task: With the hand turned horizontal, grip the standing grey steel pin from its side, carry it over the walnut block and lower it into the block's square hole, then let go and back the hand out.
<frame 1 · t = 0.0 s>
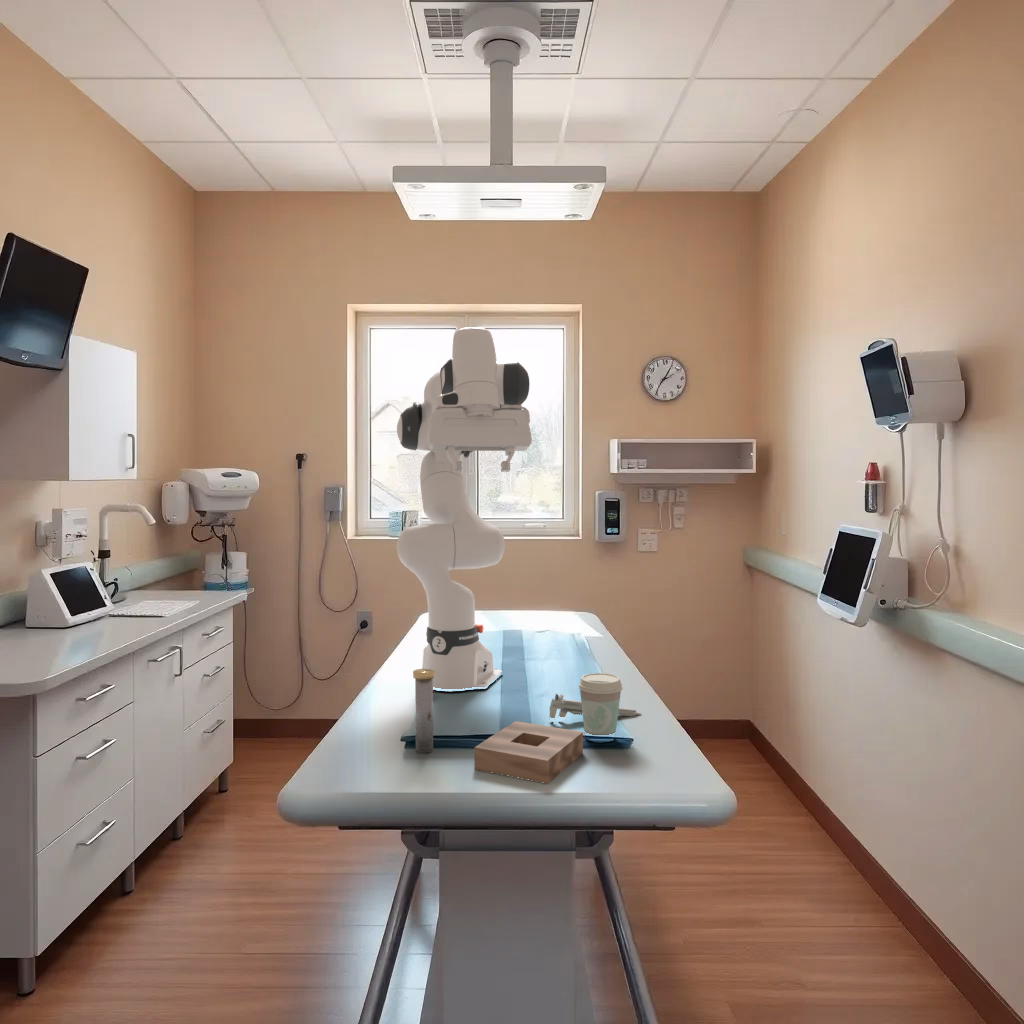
hand: (481, 471, 157), 52 cm above the table, tool tilted 20°, fingers open, 8 cm apart
caliper: (596, 720, 172), on the table
walnut block: (530, 761, 147), on the table
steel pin: (424, 750, 153), on the table
coffee cup: (600, 739, 159), on the table
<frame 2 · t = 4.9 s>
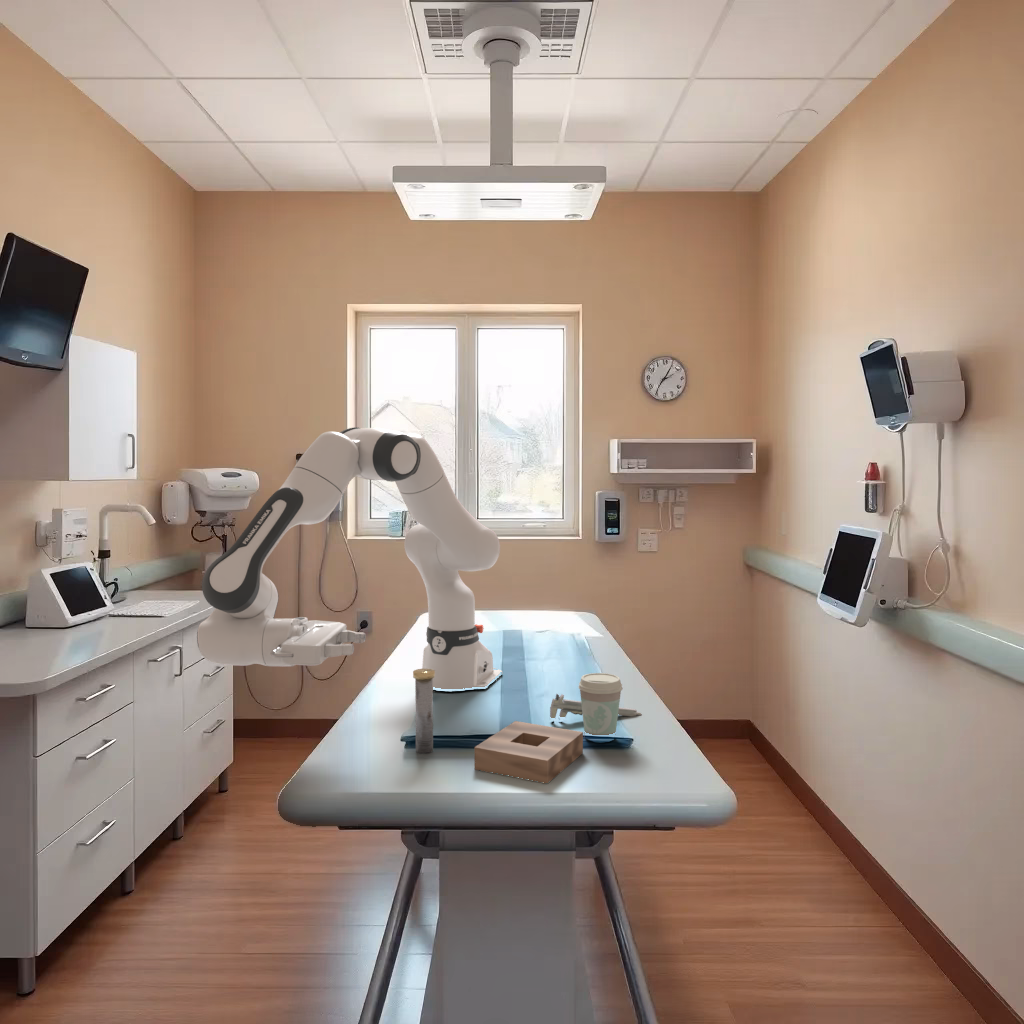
hand: (359, 643, 152), 20 cm above the table, tool horizontal, fingers open, 8 cm apart
nothing on the table moved.
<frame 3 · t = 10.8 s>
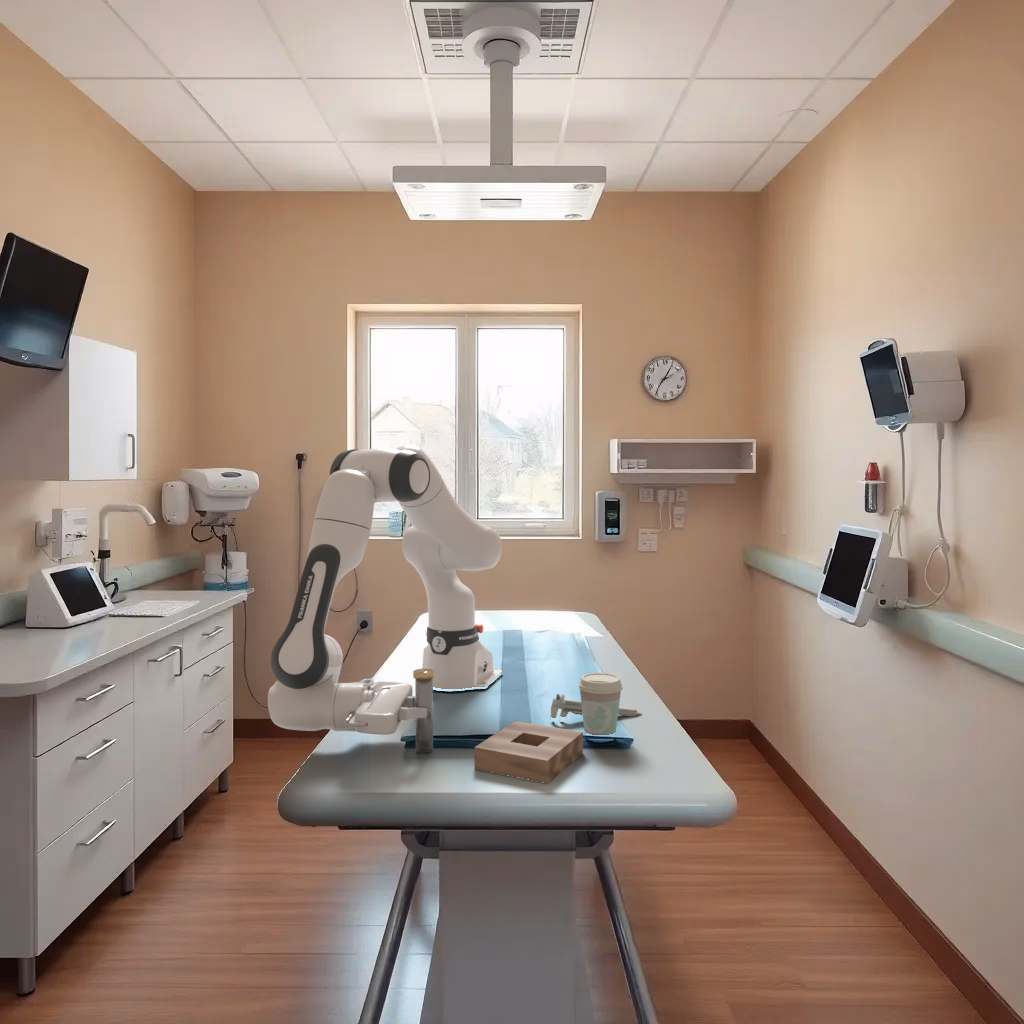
hand: (428, 708, 152), 8 cm above the table, tool horizontal, fingers closed on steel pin, 3 cm apart
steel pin: (424, 750, 153), on the table, touching gripper
everything else where it was.
when the fingers open (9 cm above the table, at t = 18.1 s): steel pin drops 1 cm, resting in walnut block.
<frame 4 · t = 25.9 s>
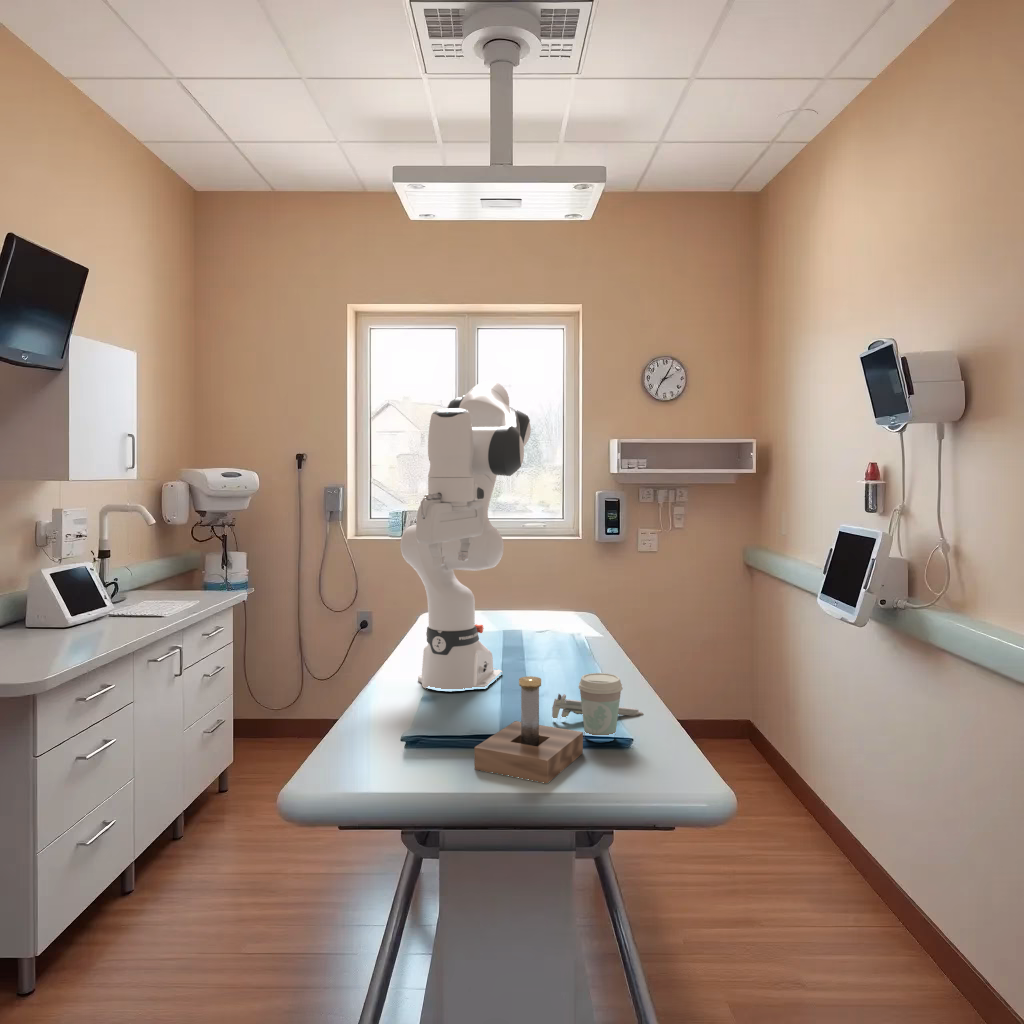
hand: (451, 563, 160), 34 cm above the table, tool pointing down, fingers open, 8 cm apart
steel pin: (529, 761, 147), resting in walnut block
everything else where it was.
at the end: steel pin 0.0 cm off-centre on the walnut block, point 0.0 cm above the walnut block's base; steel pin tilted 0°; the gripper is holding nothing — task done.
